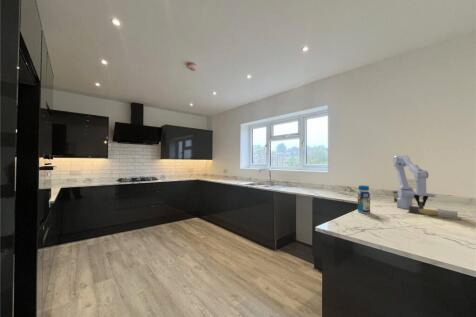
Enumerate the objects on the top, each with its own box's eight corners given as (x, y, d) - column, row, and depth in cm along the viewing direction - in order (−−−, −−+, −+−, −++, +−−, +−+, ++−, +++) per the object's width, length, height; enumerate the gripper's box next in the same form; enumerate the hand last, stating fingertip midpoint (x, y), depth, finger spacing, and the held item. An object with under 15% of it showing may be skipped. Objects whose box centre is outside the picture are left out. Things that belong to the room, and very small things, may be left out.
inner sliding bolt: (412, 211, 148) (412, 201, 149) (413, 210, 150) (413, 200, 151) (444, 215, 136) (443, 204, 136) (444, 215, 138) (444, 203, 138)
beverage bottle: (358, 210, 160) (358, 185, 160) (371, 211, 155) (370, 185, 155) (356, 212, 153) (356, 186, 154) (369, 214, 148) (369, 186, 148)
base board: (406, 214, 147) (406, 212, 147) (409, 211, 155) (409, 210, 155) (460, 222, 128) (460, 220, 128) (460, 218, 136) (460, 217, 136)
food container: (407, 201, 192) (407, 191, 193) (409, 203, 187) (409, 192, 187) (391, 200, 199) (391, 190, 199) (392, 201, 193) (392, 191, 194)
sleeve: (437, 216, 138) (437, 210, 138) (438, 215, 141) (438, 209, 141) (457, 219, 131) (457, 212, 131) (457, 218, 134) (457, 211, 134)
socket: (409, 212, 148) (409, 206, 148) (410, 211, 153) (410, 205, 153) (418, 213, 145) (418, 207, 145) (419, 212, 149) (419, 206, 149)
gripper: (407, 186, 149) (407, 205, 149) (434, 188, 138) (434, 208, 138) (408, 185, 154) (409, 203, 154) (435, 187, 143) (435, 207, 143)
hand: (421, 206), depth 146 cm, fingers closed
